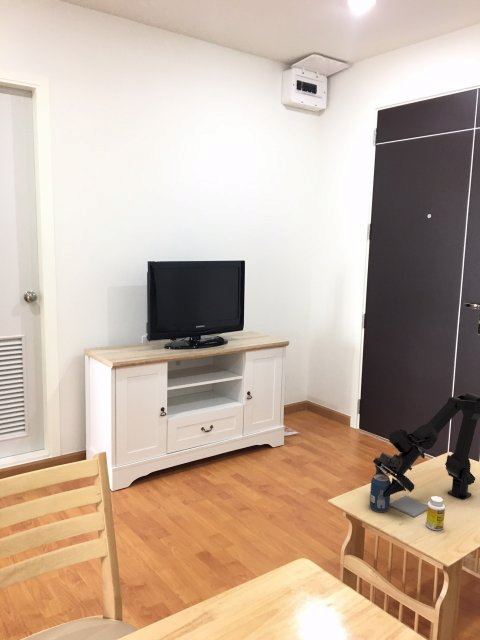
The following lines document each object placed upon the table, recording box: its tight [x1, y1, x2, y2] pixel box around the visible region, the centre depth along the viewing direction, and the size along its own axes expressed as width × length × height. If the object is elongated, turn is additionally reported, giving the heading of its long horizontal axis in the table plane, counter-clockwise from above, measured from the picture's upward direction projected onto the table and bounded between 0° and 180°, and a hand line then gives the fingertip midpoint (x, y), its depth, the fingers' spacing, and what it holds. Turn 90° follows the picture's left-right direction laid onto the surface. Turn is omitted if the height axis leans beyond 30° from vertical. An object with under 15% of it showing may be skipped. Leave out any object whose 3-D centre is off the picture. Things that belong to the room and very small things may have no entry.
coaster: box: [389, 494, 428, 519], centre depth 194 cm, size 11×11×1 cm
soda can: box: [369, 473, 392, 513], centre depth 192 cm, size 7×7×12 cm
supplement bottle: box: [425, 495, 446, 531], centre depth 180 cm, size 6×6×10 cm
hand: (377, 491), depth 191 cm, fingers closed on soda can, 7 cm apart
